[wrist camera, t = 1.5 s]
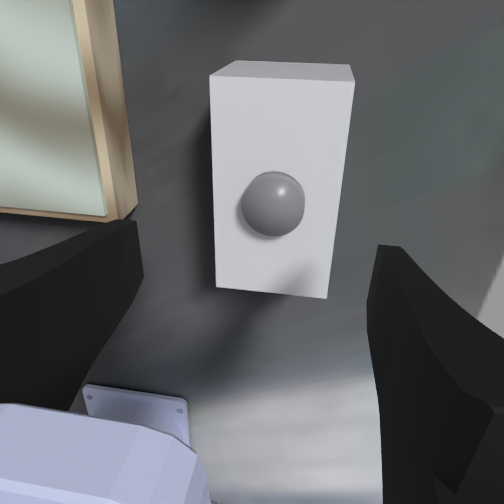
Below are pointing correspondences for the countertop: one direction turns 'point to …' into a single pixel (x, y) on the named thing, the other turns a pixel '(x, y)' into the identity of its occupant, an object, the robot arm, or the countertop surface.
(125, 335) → the countertop surface
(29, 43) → the stand
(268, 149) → the block
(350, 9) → the countertop surface
